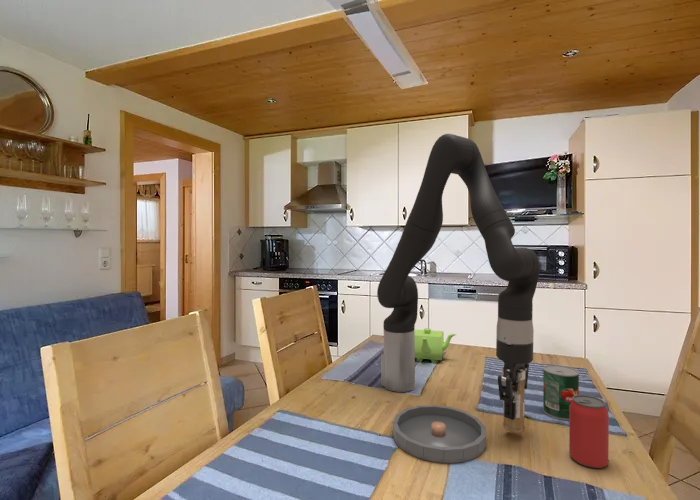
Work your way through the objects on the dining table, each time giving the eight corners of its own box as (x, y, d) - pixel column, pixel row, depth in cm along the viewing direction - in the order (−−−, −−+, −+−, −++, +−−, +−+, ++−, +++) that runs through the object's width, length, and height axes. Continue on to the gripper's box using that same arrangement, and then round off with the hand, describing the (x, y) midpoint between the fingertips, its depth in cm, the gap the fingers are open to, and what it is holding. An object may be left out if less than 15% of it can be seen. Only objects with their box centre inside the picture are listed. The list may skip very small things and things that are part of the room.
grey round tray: (375, 440, 84) (375, 427, 84) (422, 409, 99) (422, 398, 99) (461, 476, 71) (461, 461, 71) (499, 434, 86) (499, 421, 86)
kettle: (457, 361, 137) (457, 330, 137) (426, 368, 130) (425, 336, 130) (429, 351, 150) (429, 322, 150) (400, 356, 144) (400, 327, 143)
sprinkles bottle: (528, 429, 85) (529, 369, 84) (516, 435, 82) (517, 373, 81) (510, 420, 88) (511, 363, 88) (498, 426, 86) (498, 367, 85)
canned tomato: (545, 403, 101) (545, 362, 101) (580, 411, 97) (580, 368, 97) (540, 415, 95) (540, 371, 95) (577, 423, 90) (577, 377, 90)
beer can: (562, 451, 79) (562, 394, 78) (592, 449, 79) (592, 392, 79) (584, 471, 72) (584, 408, 72) (616, 468, 73) (617, 406, 72)
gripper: (508, 329, 92) (507, 398, 93) (485, 341, 81) (484, 420, 82) (541, 334, 87) (540, 407, 88) (522, 348, 76) (521, 432, 77)
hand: (513, 413), depth 85 cm, fingers closed on sprinkles bottle, 4 cm apart
